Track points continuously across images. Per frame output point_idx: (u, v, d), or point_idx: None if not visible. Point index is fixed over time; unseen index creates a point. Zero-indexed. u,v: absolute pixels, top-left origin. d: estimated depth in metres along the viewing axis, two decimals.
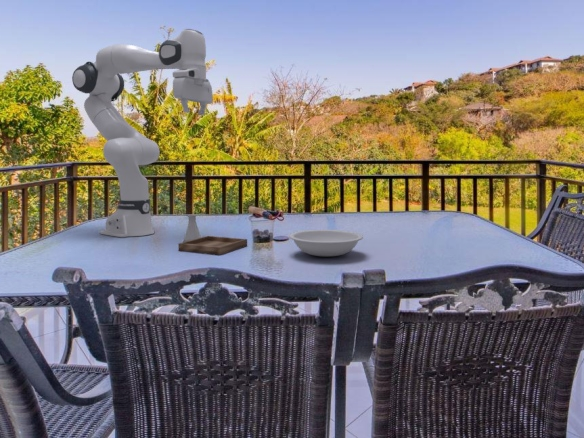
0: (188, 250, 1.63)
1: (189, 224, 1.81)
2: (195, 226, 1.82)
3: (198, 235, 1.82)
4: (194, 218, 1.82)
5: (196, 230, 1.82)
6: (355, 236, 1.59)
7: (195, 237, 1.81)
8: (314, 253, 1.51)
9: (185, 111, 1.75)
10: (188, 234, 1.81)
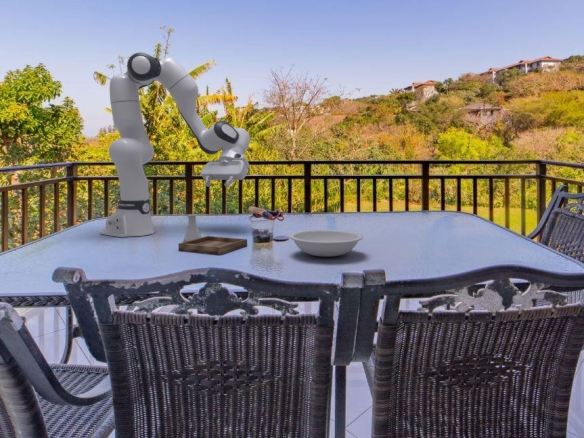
0: (188, 250, 1.63)
1: (189, 224, 1.81)
2: (195, 226, 1.82)
3: (198, 235, 1.82)
4: (194, 218, 1.82)
5: (196, 230, 1.82)
6: (355, 236, 1.59)
7: (195, 237, 1.81)
8: (314, 253, 1.51)
9: (228, 185, 1.93)
10: (188, 234, 1.81)
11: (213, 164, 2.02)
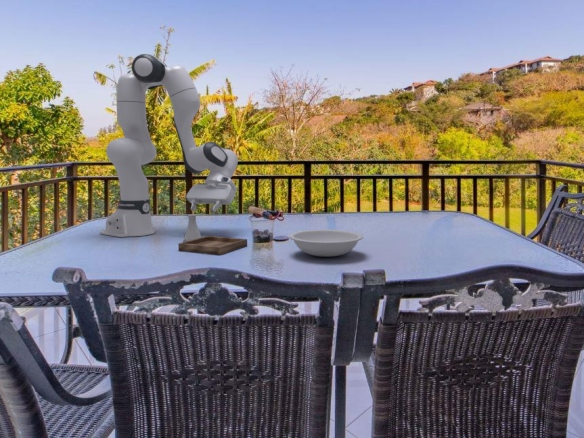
0: (188, 250, 1.63)
1: (189, 224, 1.81)
2: (195, 226, 1.82)
3: (198, 235, 1.82)
4: (194, 218, 1.82)
5: (196, 230, 1.82)
6: (355, 236, 1.59)
7: (195, 237, 1.81)
8: (314, 253, 1.51)
9: (214, 210, 1.86)
10: (189, 234, 1.81)
11: (199, 187, 1.94)
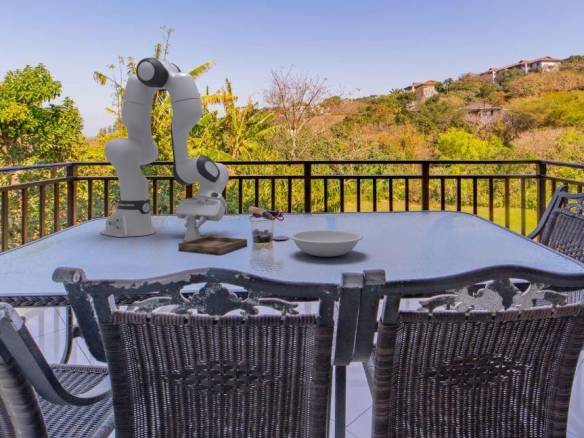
0: (188, 250, 1.63)
1: (189, 224, 1.81)
2: None
3: (198, 235, 1.82)
4: (194, 218, 1.82)
5: (196, 230, 1.82)
6: (355, 236, 1.59)
7: (195, 237, 1.81)
8: (314, 253, 1.51)
9: (198, 227, 1.81)
10: (188, 234, 1.81)
11: (188, 202, 1.89)
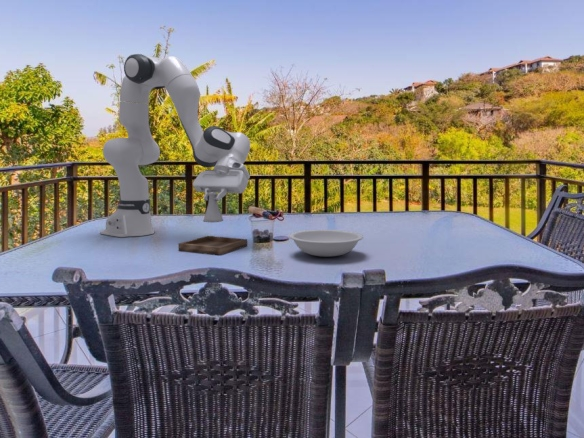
0: (188, 250, 1.63)
1: (210, 203, 1.66)
2: (216, 205, 1.66)
3: (219, 215, 1.67)
4: None
5: (217, 209, 1.66)
6: (355, 236, 1.59)
7: (217, 217, 1.65)
8: (314, 253, 1.51)
9: (218, 199, 1.65)
10: (209, 213, 1.65)
11: (207, 174, 1.73)
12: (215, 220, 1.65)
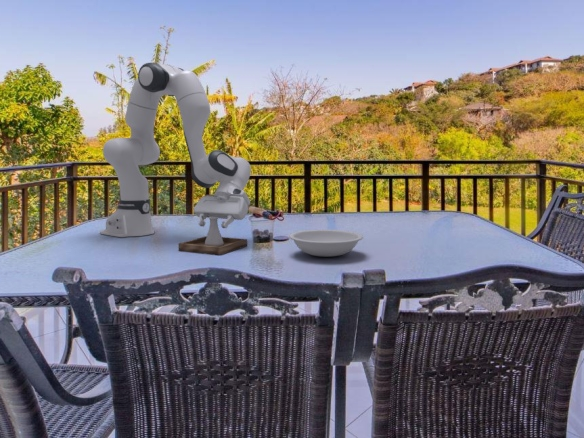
0: (188, 250, 1.63)
1: (211, 227, 1.67)
2: (217, 229, 1.67)
3: (220, 239, 1.68)
4: (216, 220, 1.67)
5: (218, 233, 1.67)
6: (355, 236, 1.59)
7: (218, 241, 1.66)
8: (314, 253, 1.51)
9: (225, 226, 1.65)
10: (210, 238, 1.66)
11: (208, 200, 1.74)
12: (216, 244, 1.66)
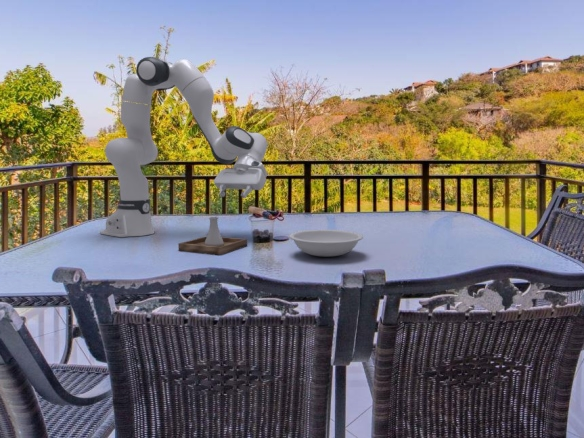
0: (188, 250, 1.63)
1: (211, 227, 1.67)
2: (217, 229, 1.67)
3: (220, 239, 1.68)
4: (216, 220, 1.67)
5: (218, 233, 1.67)
6: (355, 236, 1.59)
7: (218, 241, 1.66)
8: (314, 253, 1.51)
9: (245, 196, 1.76)
10: (210, 238, 1.66)
11: (227, 172, 1.84)
12: (216, 244, 1.66)
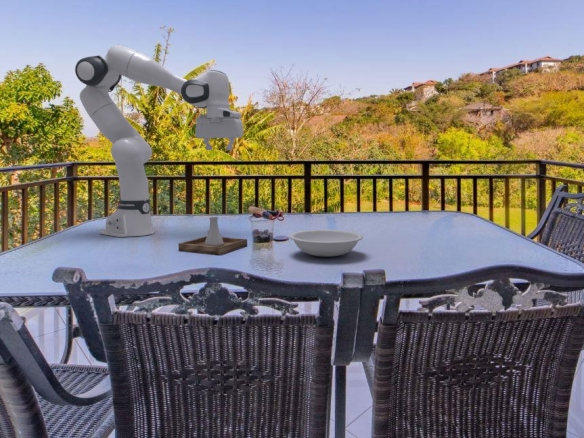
0: (188, 250, 1.63)
1: (211, 227, 1.67)
2: (217, 229, 1.67)
3: (220, 239, 1.68)
4: (216, 220, 1.67)
5: (218, 233, 1.67)
6: (355, 236, 1.59)
7: (218, 241, 1.66)
8: (314, 253, 1.51)
9: (231, 149, 1.86)
10: (210, 238, 1.66)
11: (203, 123, 1.88)
12: (216, 244, 1.66)
